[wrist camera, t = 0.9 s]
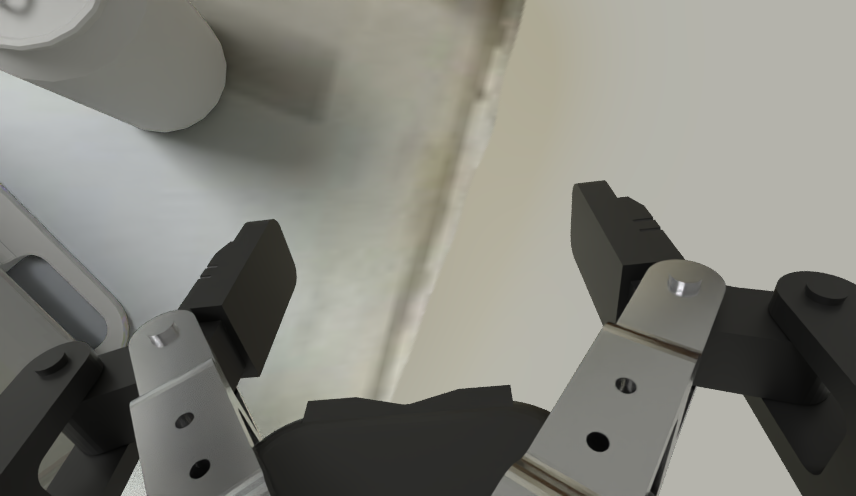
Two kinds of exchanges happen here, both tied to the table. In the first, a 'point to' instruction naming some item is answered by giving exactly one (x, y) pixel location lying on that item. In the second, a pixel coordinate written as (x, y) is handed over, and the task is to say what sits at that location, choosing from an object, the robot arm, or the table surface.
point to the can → (118, 57)
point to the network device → (29, 323)
